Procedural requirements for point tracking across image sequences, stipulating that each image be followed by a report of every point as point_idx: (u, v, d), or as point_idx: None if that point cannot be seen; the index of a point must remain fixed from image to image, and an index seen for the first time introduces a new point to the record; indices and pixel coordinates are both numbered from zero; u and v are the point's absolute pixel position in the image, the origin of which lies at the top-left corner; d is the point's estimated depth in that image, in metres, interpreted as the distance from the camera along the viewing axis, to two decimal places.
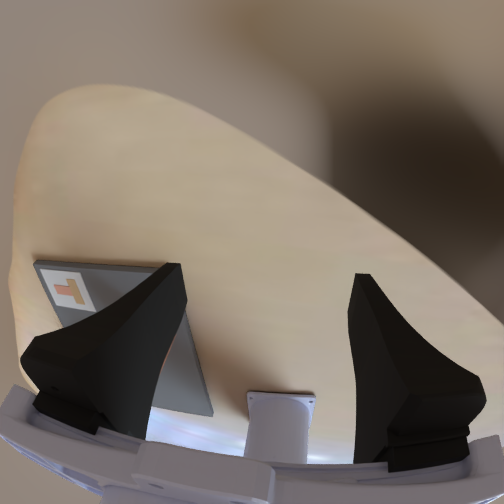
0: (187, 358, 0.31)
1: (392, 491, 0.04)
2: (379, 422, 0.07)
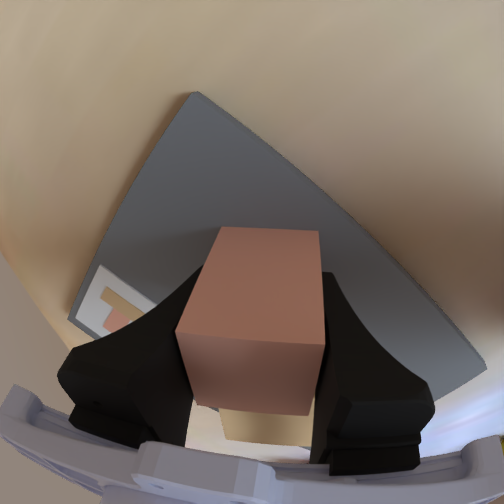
0: (381, 275, 0.14)
1: (392, 491, 0.04)
2: (323, 423, 0.07)
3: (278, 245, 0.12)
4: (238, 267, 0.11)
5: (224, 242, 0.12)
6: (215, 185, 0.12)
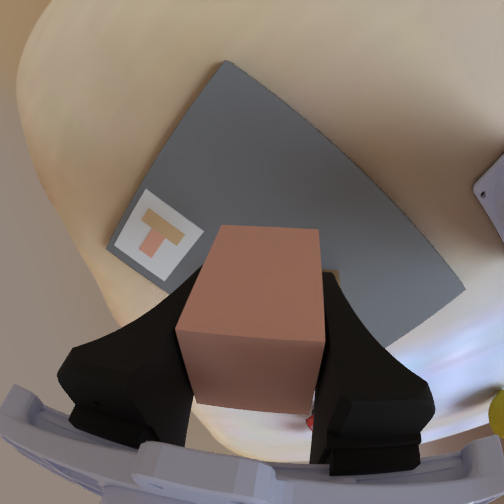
0: (359, 187, 0.19)
1: (392, 491, 0.04)
2: (323, 423, 0.07)
3: (278, 243, 0.12)
4: (238, 265, 0.11)
5: (224, 240, 0.12)
6: (240, 120, 0.17)
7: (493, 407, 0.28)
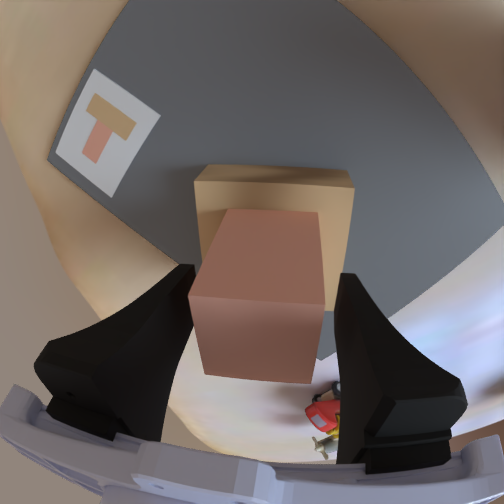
0: (369, 48, 0.12)
1: (392, 491, 0.04)
2: (358, 423, 0.07)
3: (281, 224, 0.13)
4: (244, 242, 0.12)
5: (231, 222, 0.13)
6: None
7: None
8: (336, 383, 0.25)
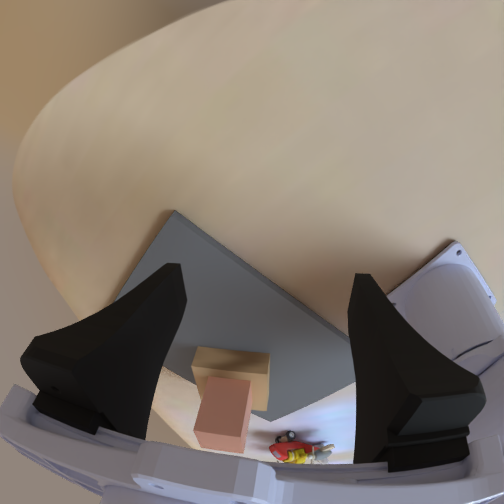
0: (280, 304, 0.25)
1: (392, 491, 0.04)
2: (379, 422, 0.07)
3: (231, 390, 0.27)
4: (214, 402, 0.26)
5: (209, 387, 0.27)
6: (187, 258, 0.24)
7: None
8: (289, 432, 0.39)
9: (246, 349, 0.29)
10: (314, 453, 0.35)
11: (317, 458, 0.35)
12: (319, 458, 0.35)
